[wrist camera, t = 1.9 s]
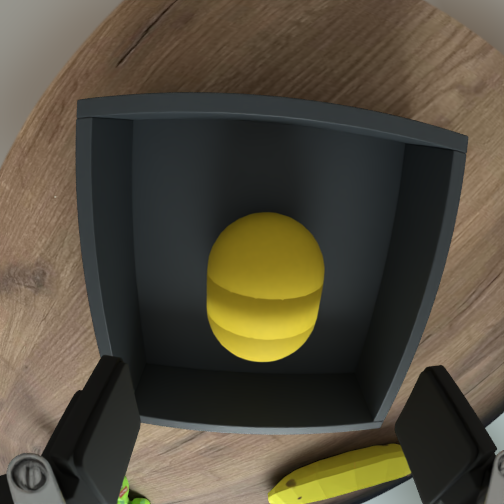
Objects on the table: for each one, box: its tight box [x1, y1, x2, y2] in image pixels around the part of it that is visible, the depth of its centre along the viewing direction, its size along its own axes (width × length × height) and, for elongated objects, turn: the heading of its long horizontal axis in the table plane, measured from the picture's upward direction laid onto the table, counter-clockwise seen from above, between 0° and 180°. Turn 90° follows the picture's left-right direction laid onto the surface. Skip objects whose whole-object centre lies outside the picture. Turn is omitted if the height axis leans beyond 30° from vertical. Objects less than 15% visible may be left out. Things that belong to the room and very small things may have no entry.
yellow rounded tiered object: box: [207, 212, 325, 362], centre depth 16 cm, size 8×6×6 cm
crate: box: [76, 92, 468, 434], centre depth 16 cm, size 18×17×6 cm
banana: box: [268, 443, 411, 504], centre depth 27 cm, size 5×17×15 cm
